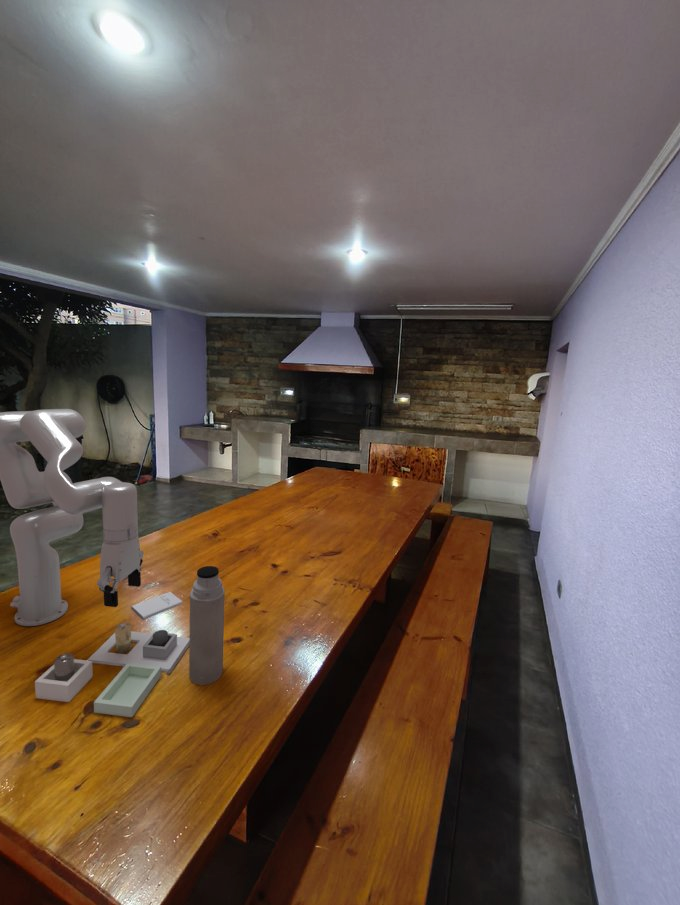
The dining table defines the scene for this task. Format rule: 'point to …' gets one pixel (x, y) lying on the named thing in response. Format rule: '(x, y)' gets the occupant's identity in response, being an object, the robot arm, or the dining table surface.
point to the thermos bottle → (206, 627)
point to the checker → (144, 652)
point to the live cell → (123, 637)
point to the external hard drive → (156, 605)
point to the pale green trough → (127, 690)
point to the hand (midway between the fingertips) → (123, 595)
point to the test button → (160, 638)
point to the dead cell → (64, 667)
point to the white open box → (63, 682)
